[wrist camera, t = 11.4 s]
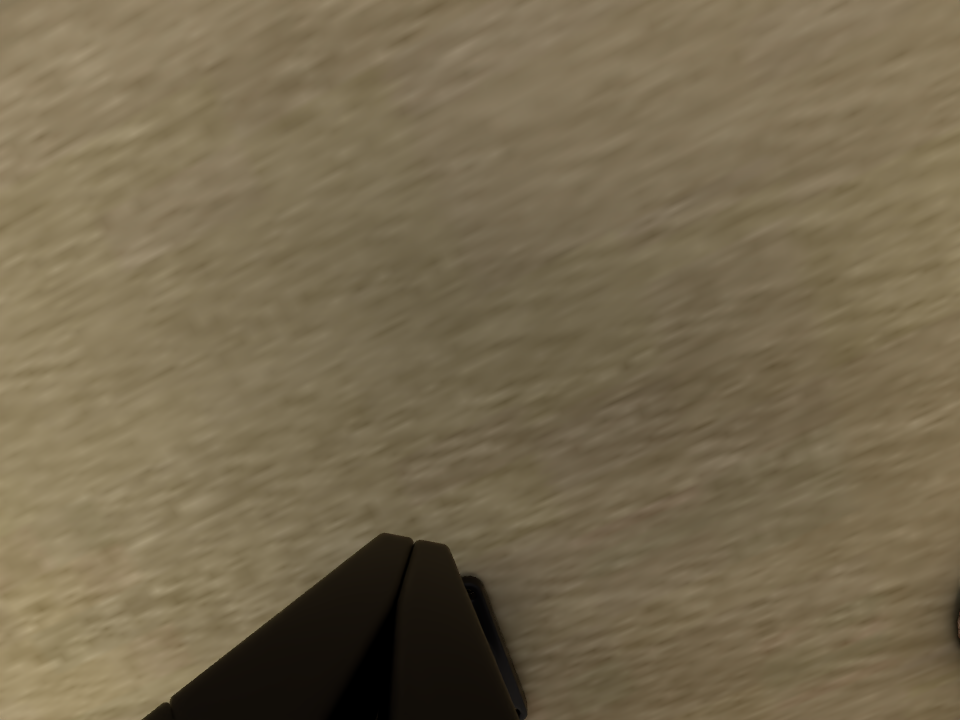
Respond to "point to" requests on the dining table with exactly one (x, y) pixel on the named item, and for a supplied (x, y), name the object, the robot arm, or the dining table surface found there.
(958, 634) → the sauce bottle
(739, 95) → the dining table surface
